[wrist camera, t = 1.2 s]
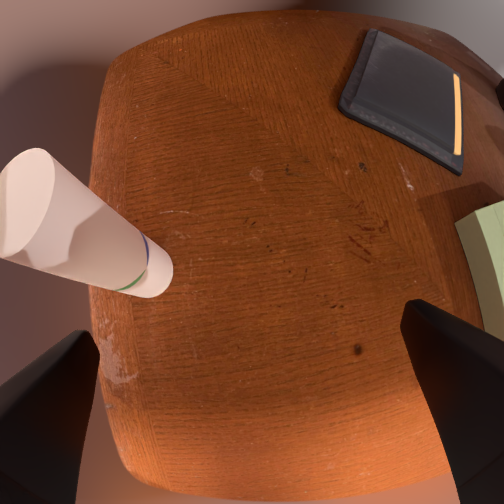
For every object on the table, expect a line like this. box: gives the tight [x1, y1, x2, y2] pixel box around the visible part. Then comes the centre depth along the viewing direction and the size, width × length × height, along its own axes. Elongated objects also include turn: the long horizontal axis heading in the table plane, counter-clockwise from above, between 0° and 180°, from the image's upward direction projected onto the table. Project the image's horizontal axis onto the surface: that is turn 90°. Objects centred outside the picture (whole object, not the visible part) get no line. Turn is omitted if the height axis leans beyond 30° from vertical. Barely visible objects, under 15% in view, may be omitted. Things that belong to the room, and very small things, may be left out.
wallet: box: [338, 28, 464, 176], centre depth 26 cm, size 20×2×15 cm
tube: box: [0, 148, 173, 298], centre depth 15 cm, size 4×4×15 cm
